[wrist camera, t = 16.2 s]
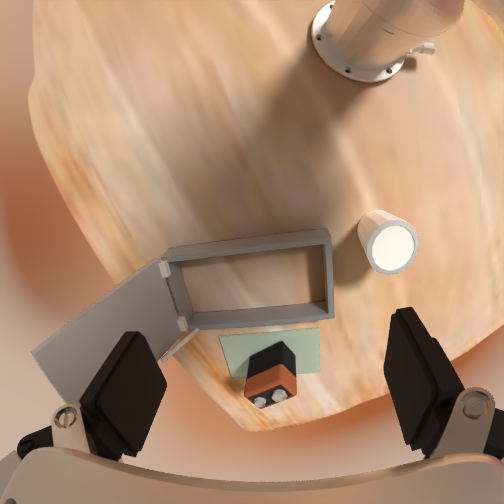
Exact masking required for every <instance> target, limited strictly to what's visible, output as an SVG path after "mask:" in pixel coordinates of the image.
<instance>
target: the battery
mask: <svg viewBox="0 0 504 504" xmlns="http://www.w3.org/2000/svg"><path fill="white" fill-rule="evenodd" d="M296 394H297V384H296V356H295V354H294V353H293V352H292V351H291V350H290V349H289V347H288V346H287V345H286V344H285V343H284V342H283V341H280V342H278V343H276V344H274V345H272V346H270V347H268V348H266V349H264V350H262V351H260V352H258V353H256V354H254V355H252V356H250V358H249V365H248V371H247V378H246V385H245V391H244V396H245V397H246V398H247V399H248V400H249V401H251V402H252V403H253V404H254V405H255V406H256V407H258V408H260V409H262V408H265V407H268V406H271V405H273V404H276V403H278V402H281V401H284V400H286V399H289V398H291V397H294V396H295V395H296Z"/></svg>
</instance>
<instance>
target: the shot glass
mask: <svg viewBox="0 0 504 504" xmlns="http://www.w3.org/2000/svg"><path fill="white" fill-rule="evenodd" d="M357 233H358V237H359V240H360V242H361V244H362V246H363V249H364V251H365V253H366V255H367V258H368V260H369V262H370V265H371V266H372V267H373V268H374V269H375V270H376V271H377V272H379V273H382V274H386V275H391V274H398V273H399V272H401V271H403V270H405V269H407V268H408V266H409V265H410V264H411V263H412V262H413V261H414V259H415V257H416V254H417V252H418V245H419V239H418V236H417V233H416V230H415V229H414V228H413V227H412V226H411V225H410V224H409V223H408V222H406V221H404V220H402V219H400V218H398V217H396V216H394V215H392V214H390V213H387V212H385V211H382V210H372V211H370V212H368V213H366V214H365V215H364V216H363V217H362V218H361V220H360V222H359V224H358V227H357Z"/></svg>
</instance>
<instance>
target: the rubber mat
mask: <svg viewBox="0 0 504 504" xmlns="http://www.w3.org/2000/svg"><path fill="white" fill-rule="evenodd" d="M219 338H220V341H221V344H222V348H223V351H224V354H225V358H226V361H227V364H228V367H229V371H230V374H231V377H232V378H243V377H247V371H248V365H249V358H250V356H252V355H254V354H256V353H258V352H260V351H262V350H264V349H266V348H268V347H270V346H272V345H274V344H276V343H278V342H280V341H283V342H284V343H285V344H286V345H287V346H288V347H289V349H290V350H291V351H292V352H293V353H294V354H295V356H296V374H304V373H314V372H320V340H319V327H316V328H307V329H298V330H288V331H277V332H265V333H252V334H236V335H220V336H219Z"/></svg>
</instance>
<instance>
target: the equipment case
mask: <svg viewBox="0 0 504 504" xmlns="http://www.w3.org/2000/svg"><path fill="white" fill-rule="evenodd" d="M320 244H322V250H323V264H324V281H325V301H320V302H312V303H303V304H294V305H284V306H274V307H264V308H253V309H241V310H227V311H213V312H197V313H194V312H193V308H192V305H191V302H190V299H189V295H188V292H187V289H186V285H185V282H184V278H183V275H182V272H181V268H180V264H179V261H184V260H192V259H201V258H209V257H218V256H226V255H235V254H244V253H252V252H261V251H269V250H278V249H286V248H295V247H303V246H312V245H320ZM161 260H162V261H160V262H161V263H159V264H158V265H159V268H160V272H161V275H162V278H165V277H167V279H168V283H169V286H170V289H171V292H172V295H173V298H174V301H175V304H176V307H177V310H178V313H179V316H180V317H178V318H179V319H178V320H177V323H178V325H179V328H180V331H187V330H193V331H192V332H191V333H190V334H188V335H187V336H186V337H185V338H184V339H183V340H182V341H180V342H179V343H178V344H177V345H176V346H175V347H173V348H172V349H171V350H170V351H169V352H168V353H166V354H165V355H164V356H163V357H162V358H161V361H162V362H165V361H166V360H168V359H169V358H170V357H171V356H172V355H173V354H174V353H176V352H177V351H178V350H179V349H180V348H181V347H182V346H183V345H185V344H186V343H187V342H188V341H189V340H190V339H191V338H193V337H194V336H195V335H196V334H197V333H198V332H199V330H201V329H222V328H239V327H253V326H266V325H277V324H288V323H297V322H307V321H315V320H324V319H332V318H334V283H333V261H332V244H331V236H330V234H329V232H328V230H327V228H323V229H315V230H306V231H298V232H289V233H281V234H273V235H265V236H257V237H249V238H241V239H233V240H225V241H217V242H210V243H202V244H195V245H187V246H180V247H172V248H169V249H168V250H167V251H166V253H165V254H164V255H163V256H162V257H161Z"/></svg>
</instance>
